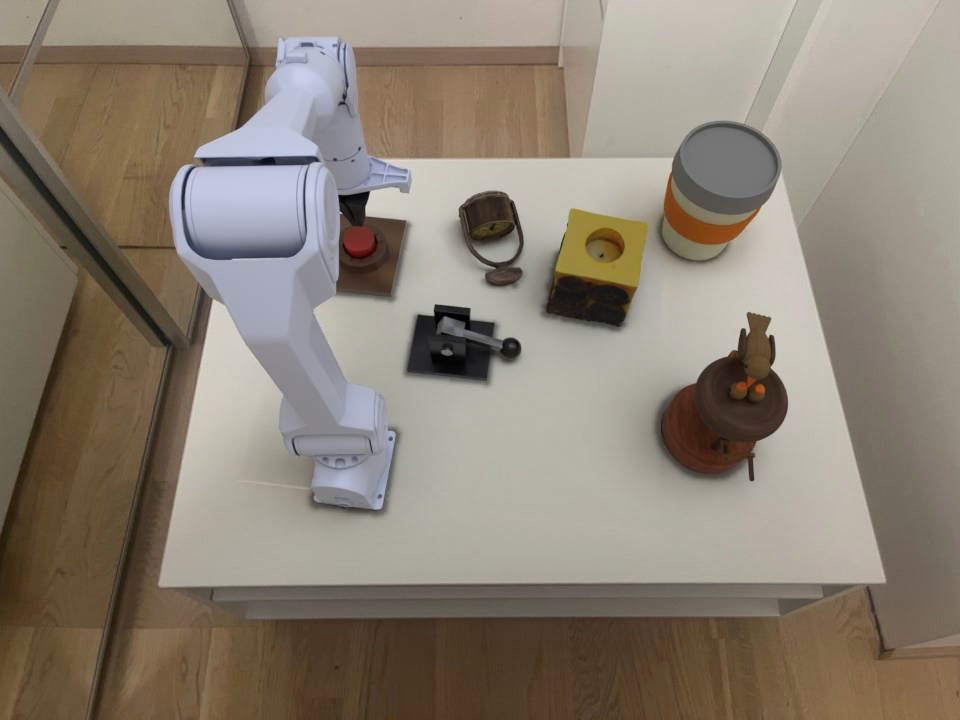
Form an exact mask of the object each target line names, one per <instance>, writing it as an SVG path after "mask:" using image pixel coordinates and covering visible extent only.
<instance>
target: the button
mask: <svg viewBox="0 0 960 720" xmlns="http://www.w3.org/2000/svg"><path fill="white" fill-rule="evenodd" d="M344 244H345V247H346V250H347V252H348V254H349V255H350V256H352V257H354V258H365V257H368V256H370V255H371V254H372V253H373V252H374V250H375V248H376V242H375V238H374V235H373V232H372V231H371V230H370V229H368V228H367V227H353V228H351V229H349V230H348V231H347V232H346V234H345V235H344Z"/></svg>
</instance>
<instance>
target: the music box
mask: <svg viewBox="0 0 960 720" xmlns="http://www.w3.org/2000/svg"><path fill="white" fill-rule="evenodd" d="M746 318H747V324H748V327H749V332H748V333H747V329H746V328H745V327H742V328H741V329H740V330H739V331H740V332H739V337H738V343H737V349H732V350H731V351H730V352H729V354H728V355H727V356H724V357H721V358H718V359H715V360H714V361H711V363H709V364H708V365H707V366H706V367H704V369H703V370H702V371H701V372H700V374H698V377H697V379H696V381H695V383H692V384H689V385H687V386H685V387H684V388H682V389H681V390H679V391H678V392H677V393H676V394H675V395H674V396H673V398H672V400H671V401H670V402H669V403H668V405H667V407H666V408H665V410H664V412H663V415H662V417H661V418H662V419H661V422H660V423H661V425H660V429H661V431H660V432H661V436H662V441H663V442H664V445H665V447H666V449H667V450H668V452H669V453H670V454H671V455H672V457H673V458H674V459H675V460H676V461H677V462H678V463H680V464H681V465H682V466H683V467H685V468H687V469H689V470H692V471H694V472H697V473H700V474H706V475H707V474H708V475H715V474H722V473H725V472H728V471H730V470H732V469H733V468H735V467H736V466H738V465H739V464H740V463H741V462H742V461H744V460H745V459H747V466H748V480H749V481H750V482H754V481H755V469H754V458H756V453H755V452H752V451H753V450H754V448H755V446H756V444H757V442H759V441H761V440H764V439H767V438H769V437H770V436H771V435H773V434H774V433H776V432H777V431H778V430H779V429H780V428H781V426H782V425H783V424H784V421H785V419H786V417H787V414H788V410H789V397H788V392H787V389H786V387H785V384H784V383H783V382H784V381H783V380H782V378H781V377H780V376H779V375H778V374H777V373H776V371H774V370H773V368H772V367H773V365H774V364H775V360H776V356H777V355H776V354H777V353H776V352H777V351H776V350H777V349H776V340H775V336H774V334H769V335H767V333H766V332H767V330H768V329H769V326H770V324H771V321H772V317H771V316H766V315H761V314H760V313H755V312H751V311H747V312H746Z"/></svg>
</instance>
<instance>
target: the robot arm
mask: <svg viewBox="0 0 960 720" xmlns="http://www.w3.org/2000/svg"><path fill="white" fill-rule="evenodd" d="M276 50H277V51H276V52H277V53H276V59H275V70H274V72H273V73H272V74H271V75H270V77H269V78H268V79H267V82H266V84H265V87H264V103H265V104H264V105H263V106H262V107H261V108H260V109H259V110H258V111H257V112H256V113H255V114H253V116H252V117H251V118H250V119H248V121H246V122H245V123H244V124H243V125H242V126H241V127H239V128H237V129H235V130H233V131H231V132H229V133H227V134H225V135H223V136H221V137H218V138H216V139H214V140H212V141H209V142H207V143H205V144H203V145H201V146H199V147H198V148H197V150H196V151H195V153H194V156H193V159H196V160H197V161H199V162H200V163H201V164H202V165H203V166H200V165H198V164H196V163H190V164H188V163H187V164H185V165H182V166H181V167H180V168H179V169H178V171H177V173H176V175H175V176H174V178H173V179H172V183H171V185H170V188H169V192H168V193H169V194H168V212H169V213H168V214H169V220H170V226H171V229H172V230H171V231H172V239H173V243H174V248H175V250H176V254H177V256H178V257H179V259H180V260H181V261H182V262H183V263H184V265H185V266H186V268H187V269H188V270H189V272H190V273H191V275H192V276H193V277H194V278H195V280H196V281H197V283H198V284H199V285H200V286H201V288H202V289H203V290H204V292H205V293H206V294H207V296H208V297H209V298H211V299H212V300H214V301H216V302H218V303H219V304H222V305H223V306H225V308H226V310H227V312H228V314H229V317H230V318H231V320H232V322H233V324H234V325H235V328H236V329H237V332H238V334H239V335H240V337H241V339H242V341H243V342H244V344H245V345H246V347H247V348H248V349H249V351H250V352H251V354H252V355H253V356H254V357H255V359H256V360H257V362H258V363H259V364H260V366H261V367H262V368H263V370H264V371H265V372H266V374H267V375H268V377H269V378H270V379H271V380H272V382H273V383H274V384H275V386H276V387H277V388H278V389H279V391H280V392H281V394H282V395H283V396H282V398H281V402H280V407H279V415H278V430H279V433H280V434H281V436H282V441H283V445H284V448H285V449H286V451H287V452H288V453H289V455H290V456H292V457H294V458H296V457H300V456H307V458H313V461H314V463H313V464H314V469H313V475H312V479H311V483H310V490H311V492H312V493H313V494H314V495H313V500H314V501H315V503H321V504H326V505H327V504H328V505H335V506H339V507H342V508H343V507H344V508H357V509H358V508H359V509H365V510H366V509H367V510H375V511H380V510H382V508H383V507H384V502H385V495H386V490H387V484H388V479H389V475H390V474H389V473H390V468H391V463H392V459H393V452H394V448H395V442H396V437H397V434H396V432H395V431H393V430H389V414H388V413H389V412H388V404H387V400H386V398H385V397H384V396H383V395H382V394H381V392H378V391H377V390H376V388H373V387H369V386H366V385H362V384H357V383H353V382H349V381H347V379H346V377H345V375H344V373H343V370H342V368H341V367H340V365H339V364H340V363H339V362H338V360H337V358H336V356H335V354H334V352H333V350H332V348H331V345H330V343H329V342H328V339H327V338H326V336H325V334H324V331H323V329H322V327H321V325H320V323H319V321H318V319H317V317H316V315H315V312H314V311H315V309H316V308H317V307H319V306H320V305H322V304H324V303H325V302H326V301H328V300H329V299H331V298H332V297H334V296H335V295H336V294H337V291H336V281H337V280H338V277H339V235H340V214H343V215H344V216H345V217H346V218H347V220H348V221H349V222H350V224H351V225H352V226H357V227H363V224H364V220H365V216H367V215H366V207H367V205H368V202H369V199H370V194H371V192H372V191H377V190H382V189H383V190H384V189H389V188H395V189H399V193H401V194H410V191H411V186H412V183H413V182H412V181H413V180H412V179H413V178H412V172H411V168H406V167H401V166H398V165H395V164H392V163H389V162H387V161H385V160H382V159H380V158H377V157H376V156H373V155H370V154H369V152H368V148H367V144H366V139H365V135H364V130H363V125H362V121H361V116H360V111H359V89H358V84H357V83H358V81H357V77H358V76H357V63H356V57H355V52H354V49H353V46H352V43H351V42H349V41H347V42H344V40H343V38H342V36H339V35H337V36H336V35H335V36H334V35H333V36H330V35H329V36H289V37H288V38H287V39H285V38H284V37H279V38H278V42H277V49H276ZM390 438H392V440H390ZM380 495H381V497H380V498H379V496H380Z"/></svg>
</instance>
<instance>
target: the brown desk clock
mask: <svg viewBox="0 0 960 720" xmlns="http://www.w3.org/2000/svg"><path fill="white" fill-rule="evenodd" d="M458 218H459V220H460V223H461V228H462V233H463V236H464V241H465V243H466V246H467V248H468V250H469V252H470V253H471V255H473V257H474V258H476V259H477V261H479V262H480V263H482V264H483V265H486V266H487V267H492V268H495V269H494V270H490V271H486V272H485V273H484V278H485V279H486V280H487V281H489V282H491V283H493V284H497V285H508V284H511V283H515V282H516V281H517V280H518V279H520V278H521V277H522V275H523V269H522V268H521V267H519V266H513V267H509V265H512V264H514V262H516V261H517V260H518V258H519V257H520V255H521V254H522V253H523V248H524V244H525V240H524V239H525V238H524V232H523V229H522V224H521V221H520V217H519V213H518V210H517V207H516V203H515V201H514V200H513V199H511V198H510V196H509V195H508V194H507V193H506V192H504V191H502V190H501V191H500V190H487V191H482V192H478V193H476V194H473V195H472V196H470V197H469V198H467V199H466V200H465V202H464V203H462V204H461V205H460V206H459V207H458ZM515 229H516V233H517V237H518V240H519V245H518V249H517V251H516V253H515V255H514V256H513V257H511V258H510V259H508V260H505V261H492V260H489V259H487V258H485V257H484V256H482V255H481V254H480V253H479V252H478V251H477V250H476V249H475V248H474V246H473V245H474V244H473V243H472V241H471V240H473V241H476V242H483V241H485V240H487V239H489V238H491V237H500V238H502V237H505V236H507V235H508V234H510V233H512V232H513V231H514V230H515Z"/></svg>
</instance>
